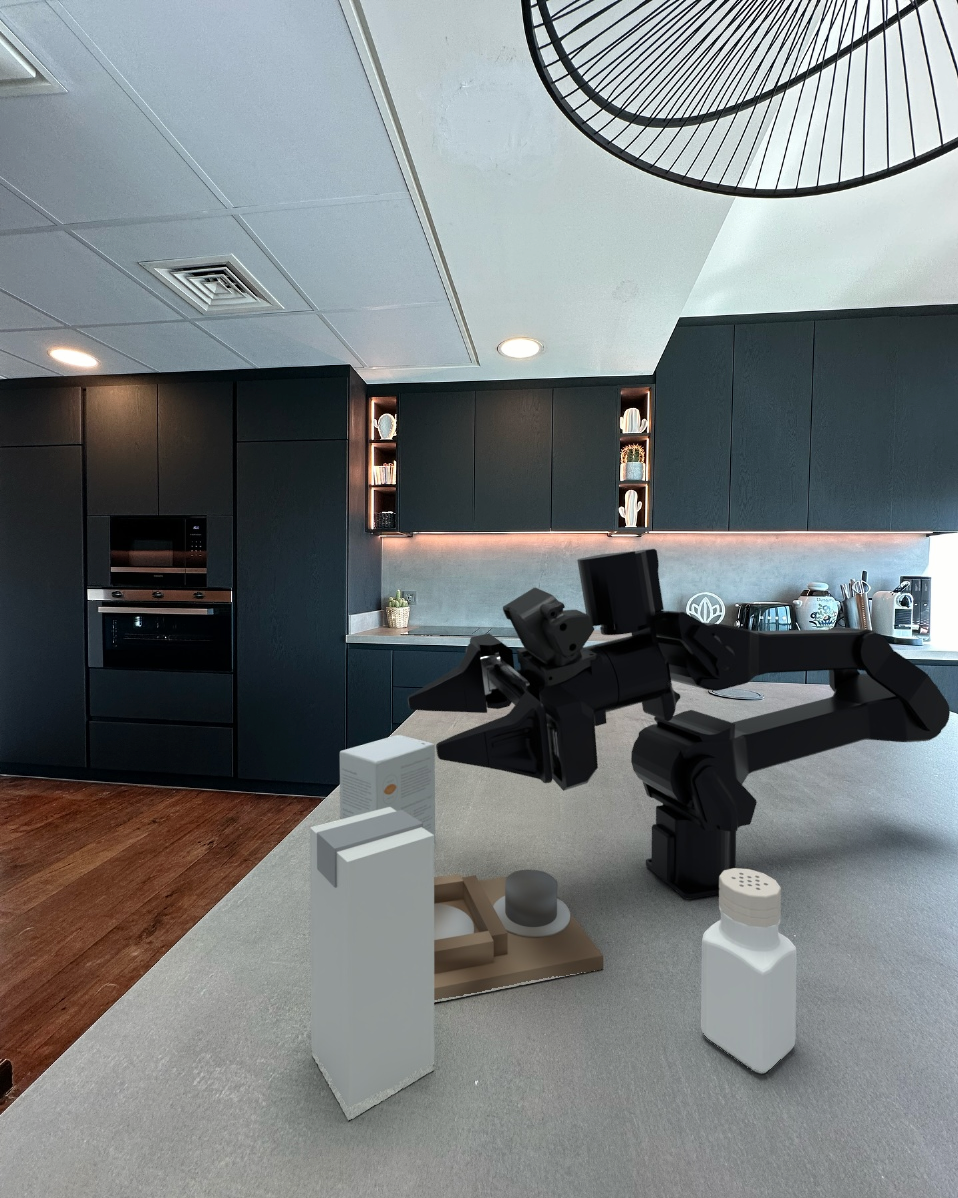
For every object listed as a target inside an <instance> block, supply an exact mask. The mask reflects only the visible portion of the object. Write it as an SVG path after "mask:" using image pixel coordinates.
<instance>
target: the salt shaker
mask: <svg viewBox="0 0 958 1198" xmlns="http://www.w3.org/2000/svg"><path fill="white" fill-rule="evenodd" d="M719 889H720V890H719V894H718V896H719V897H718V909H719V912H720V919H719V920H717V921H715V923H713V924H711V926H709V927H708V928H707V929H706V930H705V931H704V932H703V935H702V940H701V975H700V976H701V979H700V980H701V981H700V982H701V985H700V986H701V987H700V988H701V990H700V994H701V995H700V997H701V998H700V1029H701V1031H702V1032H701V1033H702V1034H703V1033H704V1034H703V1036H704V1035H705V1036H706V1037H707V1038H708V1039H710V1040H711V1041H713V1042H714V1043H717V1044H718V1045H720V1046H721V1047H723V1048H724V1049H725V1050H727V1051H728V1052H730V1053H731V1054H732V1055H735V1056H736V1057H737V1058H739V1059H740V1060H741V1061H743V1062H744V1063H747V1064H748V1065H749V1066H751V1067H752V1068H753V1069H756V1070H759V1071H761V1072H763V1071H768V1070H769V1069H771V1068H772V1067H773V1066H774V1065H775V1064H776V1063H777V1062H778V1061H779V1060H780V1059H781V1060H782V1059H783V1058H784V1057H785V1056H787V1055H788V1053H789V1052H791V1051H792V1049H793V1048H794V1047H795V1045H796V1036H797V1035H796V1033H797V1032H796V1031H797V1030H796V1023H797V1015H796V1014H797V962H798V961H797V955H798V953H797V947H796V946H795V945H794V944H793V942H792V941H791V940H790V939H789V938H788V937H787V936H785V935H783V934H782V933H781V932H779V925H780V923H781V918H782V917H781V916H782V912H781V911H782V910H781V909H782V908H781V907H782V904H781V903H782V902H781V901H782V887H781V886H780V885H779V883H778V882H777V880H776V879H774V878H772V877H771V876H769V875H767V874H765V873H763V872H761V871H757V870H754V869H750V868H737V867H736V868H733V869H728V870H724V871H723V872H722V874H721V875H720V876H719ZM705 1036H704V1037H705ZM706 1037H705V1038H706ZM707 1038H706V1039H707ZM708 1039H707V1040H708ZM711 1041H710V1042H711ZM781 1060H780V1061H781ZM780 1061H779V1062H780ZM779 1062H778V1063H779ZM778 1063H777V1064H778ZM777 1064H776V1065H777ZM776 1065H775V1066H776ZM775 1066H774V1067H775ZM774 1067H773V1068H774ZM773 1068H772V1069H773ZM772 1069H771V1070H772Z"/></svg>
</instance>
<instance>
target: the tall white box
mask: <svg viewBox="0 0 958 1198" xmlns="http://www.w3.org/2000/svg"><path fill="white" fill-rule="evenodd" d="M309 871H310V872H309V881H310V882H309V885H310V886H309V889H310V893H309V894H310V898H309V899H310V900H309V904H310V909H309V910H310V911H309V912H310V1020H311V1021H310V1030H311V1031H310V1032H311V1033H310V1034H311V1037H310V1039H311V1042H310V1043H311V1045H310V1047H311V1048H312V1049H313V1051H314V1053H315V1054H316V1055H317V1057H318V1059H319V1060H320V1061H321V1063H322V1064H323V1066H324V1067H325V1069H326V1071H327V1072H328V1074H329V1075H330V1077H331V1078H332V1080H333V1083H334V1085H335V1086H336V1088H337V1089H338V1091H339V1093H340V1094H341V1096H342V1097H343V1100H344V1102H345V1104H346V1105H347V1106H348V1107H352V1106H353V1105H354V1104H357V1103H359V1102H361V1101H363V1100H364V1099H365V1098H369V1097H370V1096H371V1095H374V1094H375V1093H378V1092H379V1091H381V1092H382V1091H385V1090H386V1089H389V1088H390V1087H391V1088H392V1087H394V1085H398V1084H399V1082H400V1081H403V1080H404V1079H405V1078H406V1077H409V1076H410V1075H411V1074H412V1073H414V1072H415V1071H418V1070H419V1069H420V1068H421V1067H422V1068H423V1067H424V1066H425V1065H427V1064H428V1063H431V1062H434V1063H435V1004H434V877H435V843H434V835H433V834H431V833H430V832H428V831H427V830H425V829H424V828H423V823H422V822H420V821H419V820H417V819H416V818H414V817H412V816H411V815H409V814H408V813H406V812H405V811H403V810H399V811H396V810H394V809H393V808H391V807H387V808H383V809H379V810H375V811H371V812H368V813H364V814H360V815H356V816H352V817H348V818H344V819H341V820H340V819H337V820H334V821H329V822H326V823H322V824H317V825H314V826H310V827H309ZM311 1048H310V1049H311Z"/></svg>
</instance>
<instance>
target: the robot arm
mask: <svg viewBox="0 0 958 1198" xmlns="http://www.w3.org/2000/svg"><path fill="white" fill-rule="evenodd" d="M576 561H577V567H578V574H579V578H580V586H581V591H582V596H583V597H582V599H583V602H584V603H583V604H584V610H585V612H582V611H581V610H579V609H565V608H566V606H565V604H564V602H561V601H560V600H558V599H557V598H556V597H555V596H554V595H553V594H551V593H549V592H547V591H544V590H543V589H540V588H538V587H533V588H531V589H530V590H528V591H526V592H524V593H522V594H521V595H519V596H518V597H516V598H514V599H513V600H511V601H510V602H508V603H507V604H505V605H504V606H502V611H503V614H504V616H505V618H506V619H507V620H509V621H510V623H511V625H512V627H513V628H514V629H513V630H514V631H515V632H516V634H517V635H516V636H517V637H518V639H519V641H520V643H521V645H522V647H521V648H517V649H516V655H517V663H518V664H519V665H520V666H519V667H520V668H519V669H515V662H514V661H515V659H514V651H513V649H511V648H510V647H509V646H508V645H506V644H505V643H503V642H502V641H501V640H499V639H498V638H496V637H495V636H494V635H493V634H490V633H489V632H488V633H484V634H480V635H475V636H471V637H470V639H469V643H468V644H467V646H466V647H465V654H464V656H463V657H462V660H461V661H460V663H459V664H458V665H457V666H456V667H455V668H453V669H452V670H450V671H449V672H448V673H445V674H444V675H443V676H440V677H439V678H437V679H435V680H434V681H432V682H431V683H428V684H427V685H425V686H424V687H422V688H420V689H419V690H417V691H415V692H414V693H412V694H410V695H408V697H407V703H408V704H407V705H408V708H409V710H412V711H413V710H414V711H422V712H423V711H426V712H448V713H449V712H451V713H452V712H454V713H475V714H476V713H478V714H487V713H488V709H494V710H501V709H504V708H509V707H510V706H511V705H512V704H513V705H514V706H513V708H511V710H510V711H509V712H508V714H506V715H504V716H501V717H498V718H496V719H493V720H490V721H488V722H485V723H483V724H480V725H478V726H475V727H473V728H470V729H467V730H464V731H462V732H459V733H457V734H453V735H452V736H450V737H447V738H446V739H444V740H440V741H439V742H437V743H436V745H435V748H436V749H435V750H436V755H437V758H438V759H439V760H441V761H445V762H453V763H459V764H463V765H469V766H476V767H481V768H488V769H492V770H498V771H502V772H506V773H511V774H514V775H515V774H517V775H521V776H525V777H529V778H533V779H537V780H540V781H541V782H542V783H543V784H551V783H552V782H554V783H555V784H557V785H558V786H559V788H560V790H562V791H567V790H570V789H573V788H576V787H579V786H583V785H585V784H586V785H587V784H588V783H589V781H590V780H591V778H592V777H593V775H594V774H595V772H596V771H598V769H599V766H598V752H597V750H598V749H597V736H596V727H598V726H599V727H600V726H602V725H605V724H607V713H609V712H613V711H617V710H620V709H624V708H627V707H631V706H634V705H638V704H641V705H642V711H643V713H644V714H647V715H650V716H653V717H654V718H653V720H654V721H655V723H653V724H652V723H651V724H650V725H649V726H648V725H647V726H646V727H644V728H642V729H641V730H640V731H639V732H638V735H637V738H636V740H635V741H634V742H633V745H632V749H631V759H630V762H631V765H632V769H633V772H634V773H635V775H636V777H637V778H638V779H639V780H641V781H642V782H641V783H642V784H643V788H644V790H645V792H646V796H647V797H649V798H650V799H651V798H652V799H654V800H655V801H657V802H658V803H660V804H662V805H656V806H655V823H654V824H652V826H651V857H650V858H647V859H645V866H646V867H647V868H648V869H649V870H650V871H651V872H653V873H654V874H655V875H656V876H658V877H659V878H660V879H661V880H662V881H664V882H665V883H666V884H667V885H668V886H669V887H670V888H672V889H673V890H674V891H675V892H676V893H678V894H679V895H680V896H681V897H682V898H684V899H687V900H692V899H698V898H705V897H710V896H716V895H719V890H720V889H719V876H720V875H721V874H722V872H723V871H724V870H728V869H733V868H737V865H736V863H737V831H738V829H739V828H740V827H745V826H750V825H751V823H752V821H753V817H754V814H755V810H756V807H757V803H758V801H757V799H756V798H755V797H754V796H753V795H752V794H751V793H750V791H748V789H746V787H745V786H744V785H743V784H744V783H745V781H746V779H747V777H748V776H749V774H752V773H755V772H758V771H762V770H764V769H768V768H771V767H775V766H779V765H782V764H786V763H789V762H793V761H796V760H799V759H803V758H807V757H810V756H814V755H816V754H820V753H823V752H828V751H830V750H835V749H837V748H841V747H844V746H848V745H851V744H856V743H858V742H861V741H865V740H868V741H869V740H871V741H881V742H894V743H915V742H916V743H919V742H929V741H931V740H934V739H935V738H936V737H937V736H939V735H940V734H941V733H942V730H943V729H944V728H945V727H946V726H947V724H948V722H949V720H950V714H951V712H950V705H949V703H948V700H947V699H946V698H945V696H944V695H943V693H942V692H941V691H940V689H939V688H938V686H937V684H936V683H935V682H934V681H933V680H932V678H931V677H930V675H928V673H927V672H926V671H924V670H922V669H921V668H920V667H918V666H917V665H916V664H914V663H913V662H911V661H910V660H908V659H907V658H905V656H903V655H901V654H899V653H898V652H897V651H896V650H895V649H893V647H892V646H891V644H890V643H889V642H888V640H887V639H886V638H885V637H884V636H883V635H882V634H881V633H878V632H876V631H875V630H872V629H867V628H853V627H840V626H835V627H830V628H828V629H795V630H794V629H793V630H792V629H790V630H789V629H788V630H786V629H785V630H752V629H749V628H748V629H747V628H743V627H737V626H733V625H728V624H723V623H712V622H702V621H700V620H699V619H697V618H695V617H694V616H692V615H690V614H689V613H686V612H685V611H676V610H675V611H674V610H664V603H663V602H664V601H663V596H662V589H661V583H660V578H659V577H660V576H659V575H660V574H659V566H660V565H659V564H660V563H659V558H658V551H657V549H656V548H648V549H639V550H636V551H635V550H633V551H621V552H613V553H612V552H611V553H602V554H597V555H596V554H595V555H591V556H587V557H586V556H585V557H581V558H578V559H577V560H576ZM564 609H565V610H564ZM599 626H600V627H599ZM595 627H599V630H600V634H601V635H604V636H617V635H627V634H631V635H629V636H625V637H621V638H617V639H612V640H608V641H603V642H600V643H596V644H592V645H588V646H585V645H586V643H587V642H588V640H589V639H590V637H591V636H592V634H593V633H594V631H595ZM815 671H817V672H821V671H828V678H829V679H828V680H829V682H828V683H829V687H830V688H831V689H830V690H832V691H833V695H832V696H831V697H827V698H824V699H823V698H822V699H819V700H815V701H811V702H807V703H803V704H800V705H799V704H798V705H795V706H791V707H788V708H783V709H780V710H777V711H772V712H769V713H764V714H760V715H757V716H756V715H755V716H752V717H749V718H745V719H744V718H743V719H740V720H736V721H728V720H725V719H722V718H718V717H715V716H711V715H709V714H706V713H703V712H700V711H696V710H693V709H689V710H684V711H681V712H679V713H677V714H675V712H676V710H677V709H676V708H677V703H678V702H679V700H680V699H681V694H680V693H678V692H677V691H675V690H674V688H673V683H672V682H676V683H680V684H684V685H686V686H687V685H688V686H692V687H695V688H699V689H703V690H708V691H717V692H718V691H723V690H727V689H730V688H733V687H737V686H741V685H745V684H748V683H749V682H751V681H752V680H753V679H755V678H756V677H757V676H762V675H765V674H774V673H776V674H777V673H779V674H780V673H795V672H796V673H797V672H798V673H799V672H800V673H801V672H815ZM859 671H864V672H865V673H863V672H862V673H860V672H859Z"/></svg>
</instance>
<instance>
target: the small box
mask: <svg viewBox="0 0 958 1198" xmlns="http://www.w3.org/2000/svg"><path fill="white" fill-rule="evenodd" d="M435 748H436V745H435V744H434V743H432V742H428V741H425V740H420V739H417V738H413V737H409V736H405V735H401V734H396V735H395V734H394V735H392V736H389V737H385V738H382V739H379V740H375V741H371V742H368V743H364V744H362V745H357V746H353V747H350V748H347V749H343V750H340V751H339V801H340V802H339V809H340V810H339V812H340V814H339V815H340V819H339V820H341V819H344V818H348V817H352V816H356V815H360V814H364V813H368V812H371V811H375V810H379V809H383V808H387V807H391V808H393V809H394V810H396V811H399V810H403V811H405V812H406V813H408V814H409V815H411V816H412V817H414V818H416V819H417V820H419V821H420V822H422V823H423V828H424V829H425V830H427V831H428V832H430V833H431V834H433V835H434V844H436V774H435V773H436V770H435V769H436V765H435V763H436V759H435V758H436V757H435V756H436V754H435V753H436V751H435V750H436V749H435Z"/></svg>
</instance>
